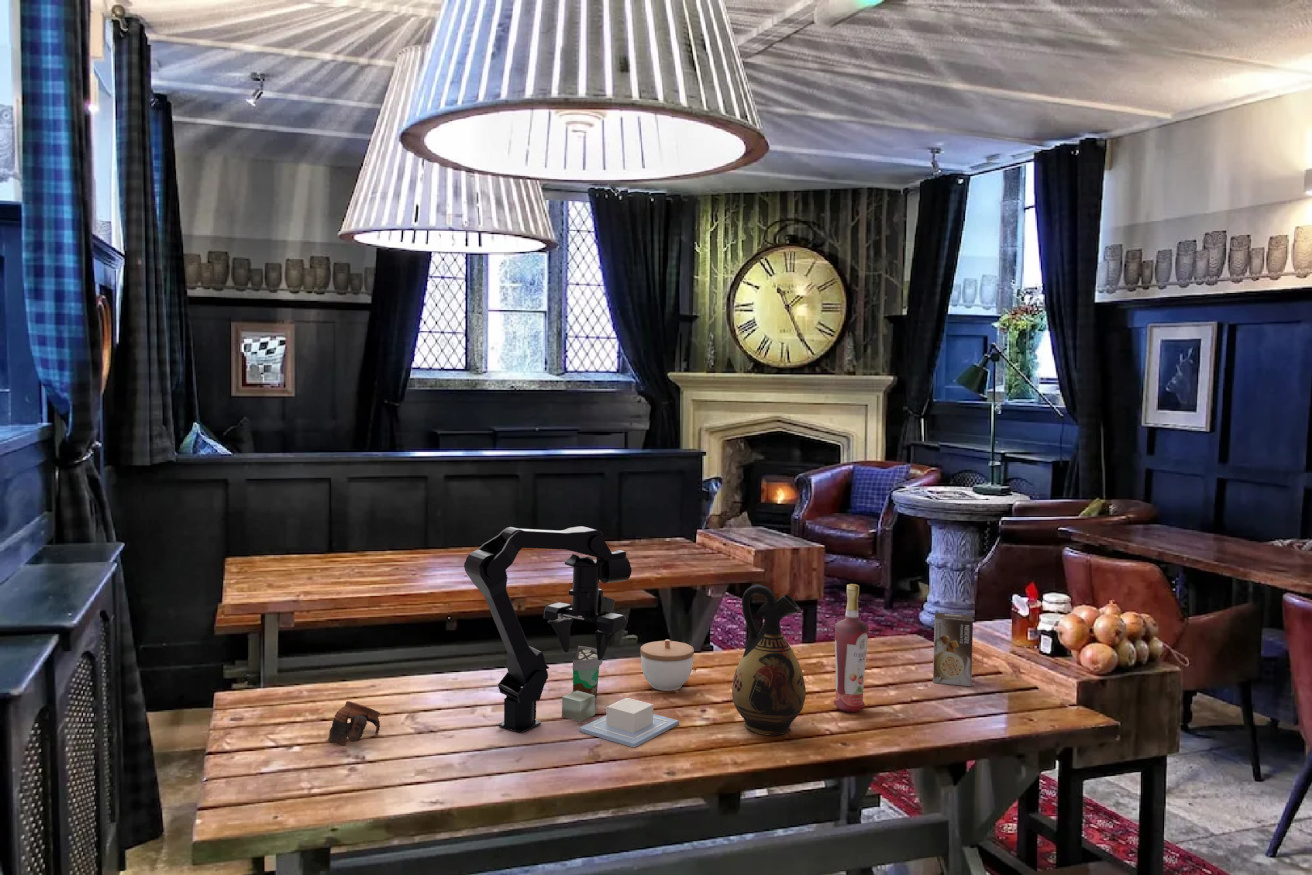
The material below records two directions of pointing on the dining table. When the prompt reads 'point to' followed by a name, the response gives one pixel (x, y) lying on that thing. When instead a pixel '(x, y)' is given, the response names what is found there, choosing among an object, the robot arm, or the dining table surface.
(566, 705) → the sage block
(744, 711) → the ceramic jug
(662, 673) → the lidded bowl
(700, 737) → the dining table surface
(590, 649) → the food container
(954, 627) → the coffee box
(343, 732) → the brown bent piece
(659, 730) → the blueprint board
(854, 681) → the liquor
